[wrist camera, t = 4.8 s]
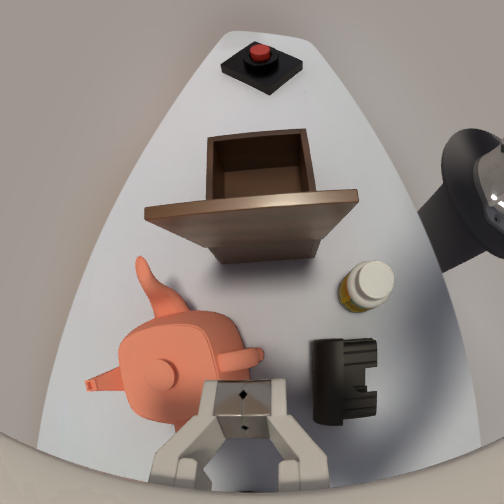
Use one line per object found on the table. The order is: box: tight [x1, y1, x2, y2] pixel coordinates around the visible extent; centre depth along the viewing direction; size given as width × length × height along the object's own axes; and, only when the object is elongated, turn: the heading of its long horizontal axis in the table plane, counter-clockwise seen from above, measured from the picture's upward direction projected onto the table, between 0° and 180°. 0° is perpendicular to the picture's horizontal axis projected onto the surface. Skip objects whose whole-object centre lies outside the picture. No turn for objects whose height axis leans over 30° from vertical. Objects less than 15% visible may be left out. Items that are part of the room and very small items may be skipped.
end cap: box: [313, 338, 377, 426], centre depth 33 cm, size 10×7×7 cm
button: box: [250, 44, 270, 61], centre depth 47 cm, size 4×4×2 cm
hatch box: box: [206, 129, 321, 264], centre depth 39 cm, size 15×13×9 cm
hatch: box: [144, 189, 359, 248], centre depth 25 cm, size 15×13×1 cm
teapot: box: [85, 256, 264, 433], centre depth 32 cm, size 16×17×14 cm
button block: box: [221, 41, 303, 95], centre depth 50 cm, size 12×10×4 cm
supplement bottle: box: [338, 261, 394, 313], centre depth 34 cm, size 5×5×10 cm
